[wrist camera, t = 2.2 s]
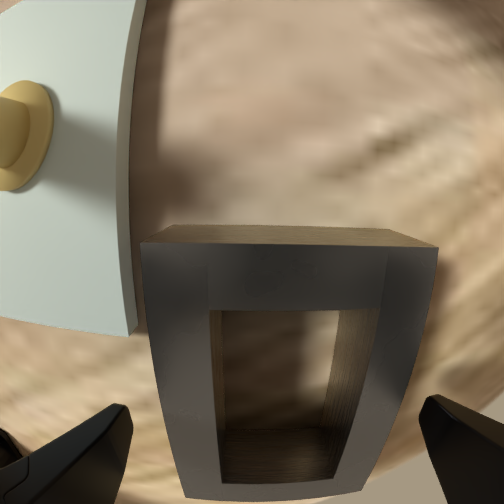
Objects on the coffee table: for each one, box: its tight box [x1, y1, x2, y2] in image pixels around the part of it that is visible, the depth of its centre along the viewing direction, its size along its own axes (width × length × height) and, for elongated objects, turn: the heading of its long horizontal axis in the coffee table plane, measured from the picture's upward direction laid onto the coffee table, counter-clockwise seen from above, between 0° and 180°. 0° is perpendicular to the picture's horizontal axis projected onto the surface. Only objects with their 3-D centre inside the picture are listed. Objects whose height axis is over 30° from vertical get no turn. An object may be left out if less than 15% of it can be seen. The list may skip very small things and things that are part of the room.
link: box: [140, 225, 439, 502], centre depth 9 cm, size 10×7×3 cm
